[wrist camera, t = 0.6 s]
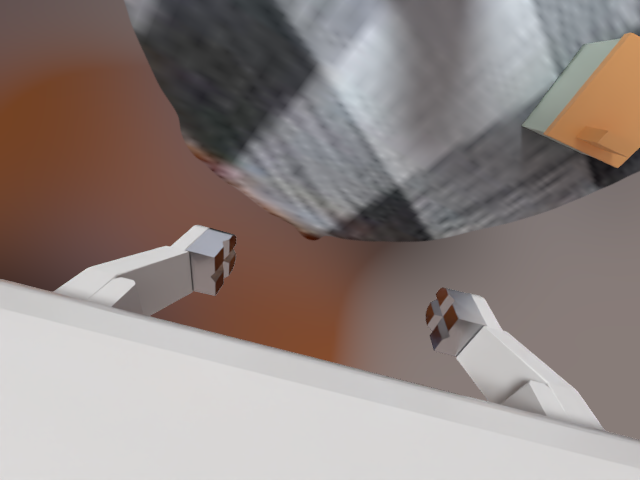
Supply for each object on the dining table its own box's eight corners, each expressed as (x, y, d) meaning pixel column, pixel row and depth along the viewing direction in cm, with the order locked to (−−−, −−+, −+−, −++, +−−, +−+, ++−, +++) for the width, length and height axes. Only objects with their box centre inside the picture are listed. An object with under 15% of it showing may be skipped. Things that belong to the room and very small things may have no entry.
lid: (618, 35, 33) (664, 26, 28) (697, 76, 34) (756, 75, 29) (539, 132, 40) (565, 140, 35) (607, 164, 41) (642, 176, 36)
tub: (583, 44, 38) (624, 37, 32) (649, 77, 39) (701, 77, 33) (521, 125, 45) (546, 132, 39) (580, 152, 46) (612, 163, 40)
